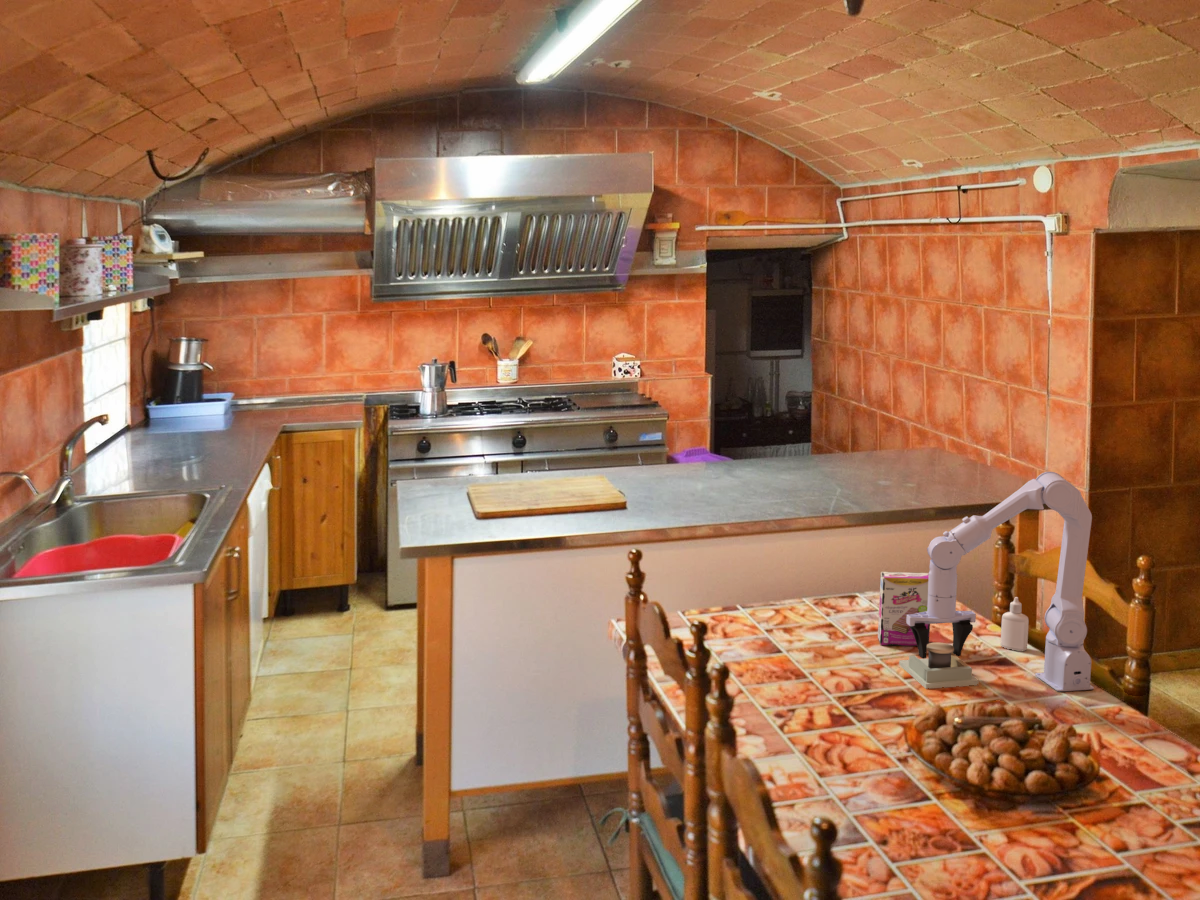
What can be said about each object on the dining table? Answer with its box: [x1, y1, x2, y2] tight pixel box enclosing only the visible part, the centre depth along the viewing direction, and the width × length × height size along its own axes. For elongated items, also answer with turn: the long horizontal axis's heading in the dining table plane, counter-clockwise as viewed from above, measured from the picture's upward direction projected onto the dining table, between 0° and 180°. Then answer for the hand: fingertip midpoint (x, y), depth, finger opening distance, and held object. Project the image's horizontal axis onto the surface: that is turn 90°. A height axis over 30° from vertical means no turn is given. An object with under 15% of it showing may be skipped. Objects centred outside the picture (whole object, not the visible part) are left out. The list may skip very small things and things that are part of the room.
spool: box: [927, 642, 954, 669], centre depth 239 cm, size 6×6×6 cm
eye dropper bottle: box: [999, 596, 1029, 652], centre depth 255 cm, size 4×6×12 cm
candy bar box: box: [877, 571, 931, 647], centre depth 259 cm, size 11×5×16 cm, turn 84°
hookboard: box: [898, 652, 980, 690], centre depth 240 cm, size 14×12×4 cm
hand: (939, 655), depth 239 cm, fingers open, 7 cm apart
